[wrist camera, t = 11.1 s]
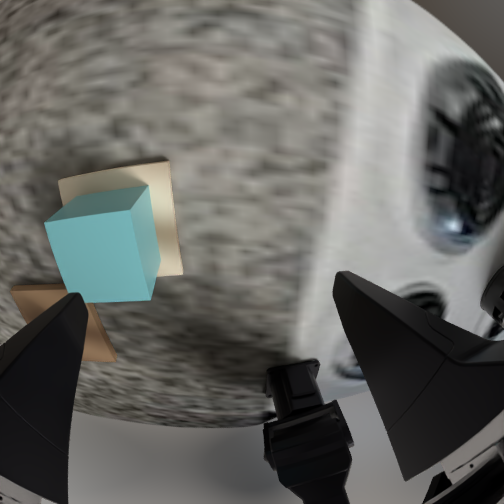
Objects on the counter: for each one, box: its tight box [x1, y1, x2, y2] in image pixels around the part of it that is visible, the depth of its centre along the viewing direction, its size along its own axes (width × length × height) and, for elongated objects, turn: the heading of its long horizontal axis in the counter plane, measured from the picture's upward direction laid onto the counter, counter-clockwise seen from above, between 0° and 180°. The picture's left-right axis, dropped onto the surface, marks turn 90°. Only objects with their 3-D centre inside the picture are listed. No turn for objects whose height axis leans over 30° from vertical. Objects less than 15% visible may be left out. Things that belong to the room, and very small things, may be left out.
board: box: [58, 161, 183, 277], centre depth 19 cm, size 9×9×1 cm
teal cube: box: [44, 185, 161, 303], centre depth 17 cm, size 6×6×5 cm
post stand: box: [10, 283, 117, 362], centre depth 20 cm, size 10×10×6 cm
